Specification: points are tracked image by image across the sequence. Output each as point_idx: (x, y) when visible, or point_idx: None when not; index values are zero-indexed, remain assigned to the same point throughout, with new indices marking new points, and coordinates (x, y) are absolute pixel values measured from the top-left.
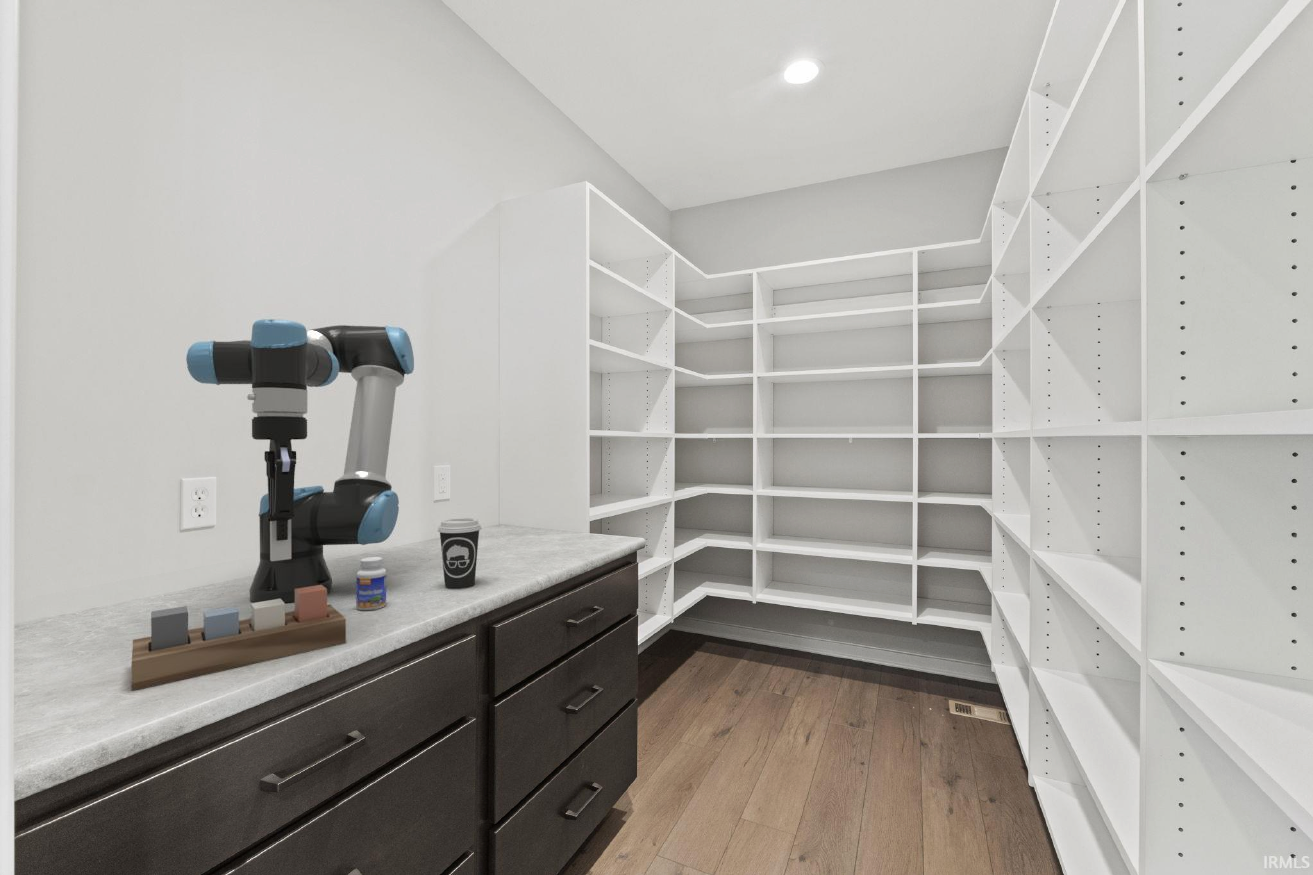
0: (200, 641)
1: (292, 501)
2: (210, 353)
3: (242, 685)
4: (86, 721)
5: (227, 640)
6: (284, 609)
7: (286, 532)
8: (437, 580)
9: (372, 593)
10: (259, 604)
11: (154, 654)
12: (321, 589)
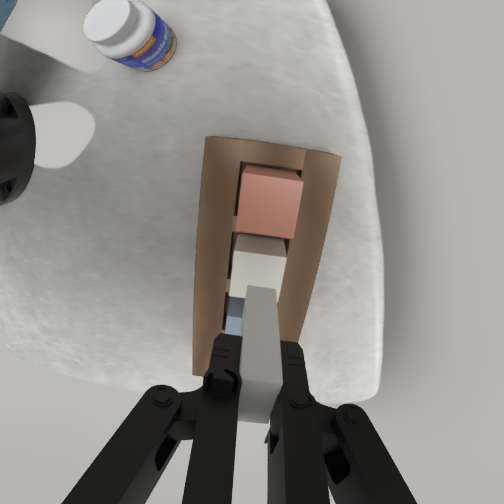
0: None
1: (392, 461)
2: None
3: (368, 296)
4: (328, 384)
5: (295, 317)
6: (285, 253)
7: (304, 364)
8: None
9: (164, 42)
10: None
11: None
12: (295, 191)
